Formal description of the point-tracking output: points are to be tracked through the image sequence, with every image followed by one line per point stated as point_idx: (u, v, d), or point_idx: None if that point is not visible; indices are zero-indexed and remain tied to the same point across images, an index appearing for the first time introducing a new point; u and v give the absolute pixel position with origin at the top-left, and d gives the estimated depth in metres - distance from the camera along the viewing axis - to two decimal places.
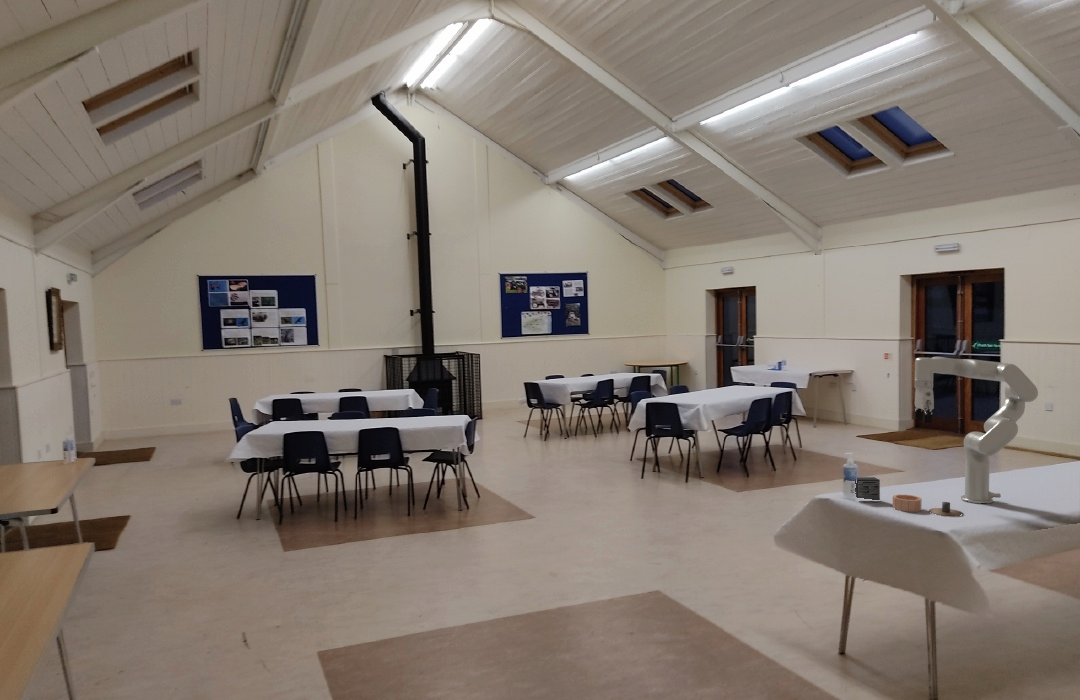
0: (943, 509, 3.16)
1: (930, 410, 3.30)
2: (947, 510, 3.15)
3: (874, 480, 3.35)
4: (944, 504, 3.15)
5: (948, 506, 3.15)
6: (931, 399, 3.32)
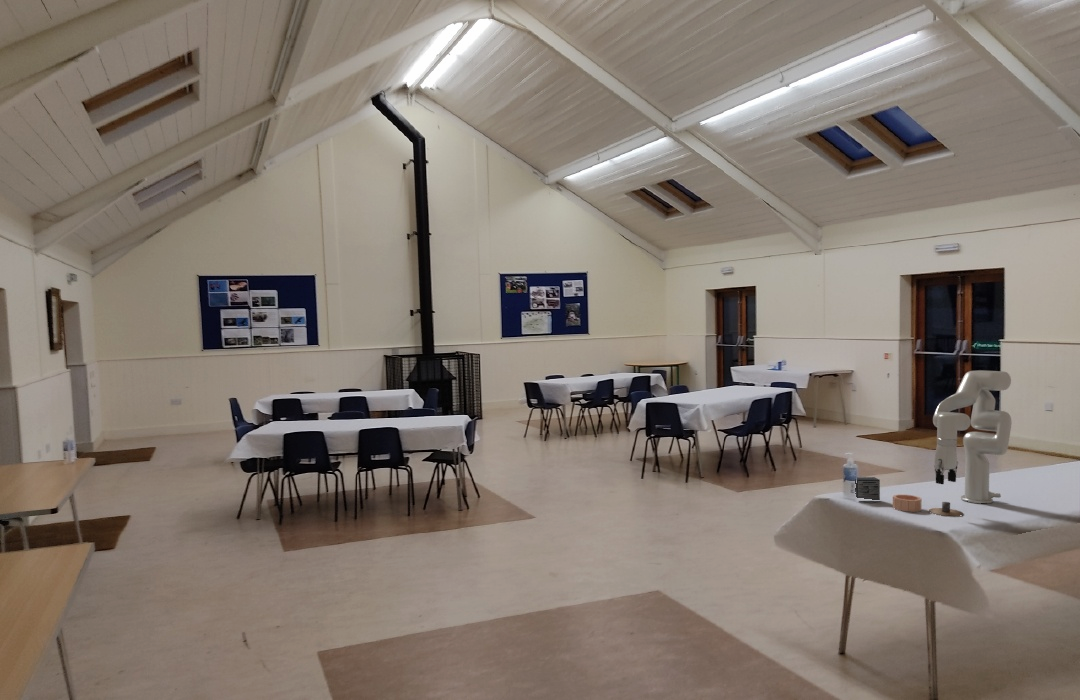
0: (943, 509, 3.16)
1: None
2: (947, 510, 3.15)
3: (874, 480, 3.35)
4: (944, 504, 3.15)
5: (948, 506, 3.15)
6: None
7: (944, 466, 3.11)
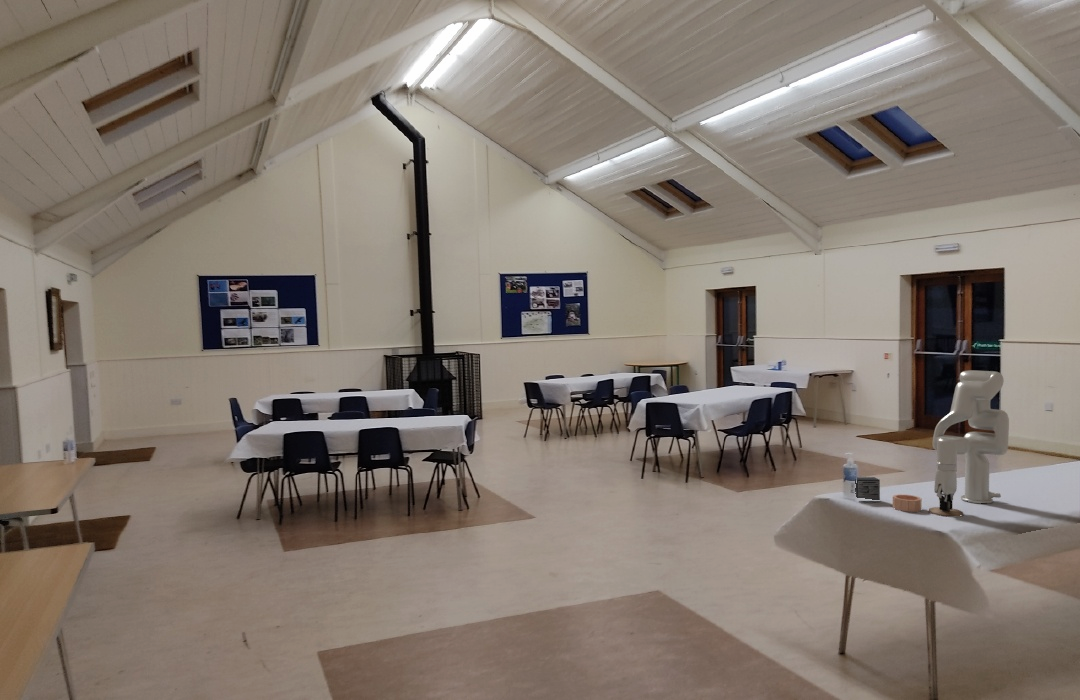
0: None
1: None
2: None
3: (874, 480, 3.35)
4: None
5: (948, 505, 3.15)
6: None
7: (944, 491, 3.12)
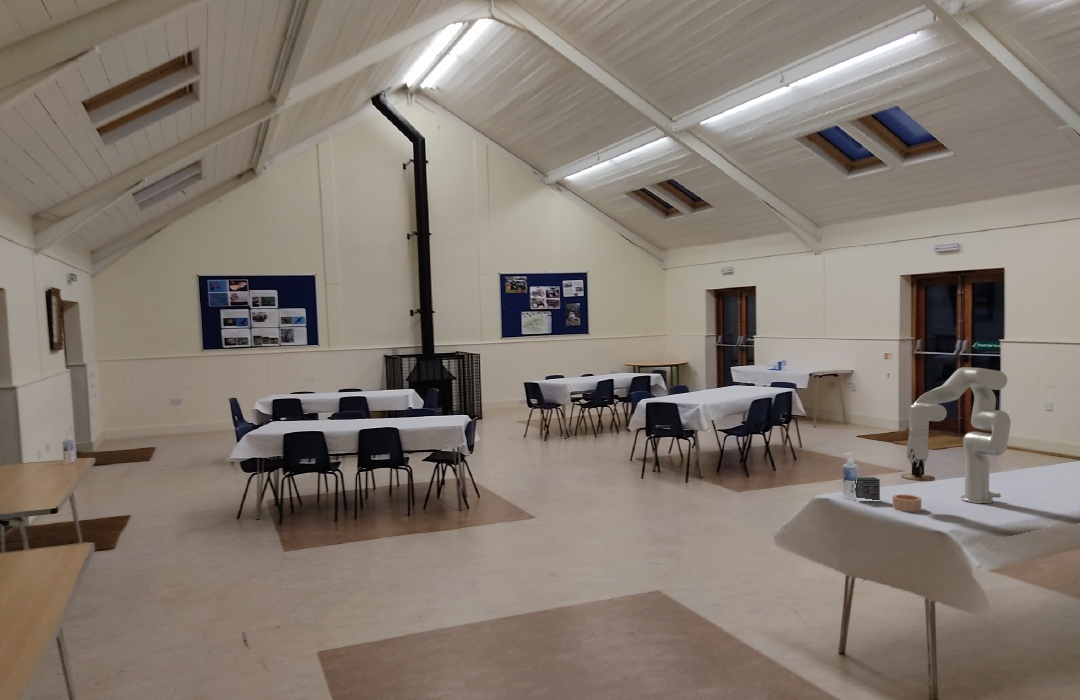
0: None
1: None
2: None
3: (874, 480, 3.35)
4: None
5: (920, 470, 3.19)
6: None
7: (916, 456, 3.16)
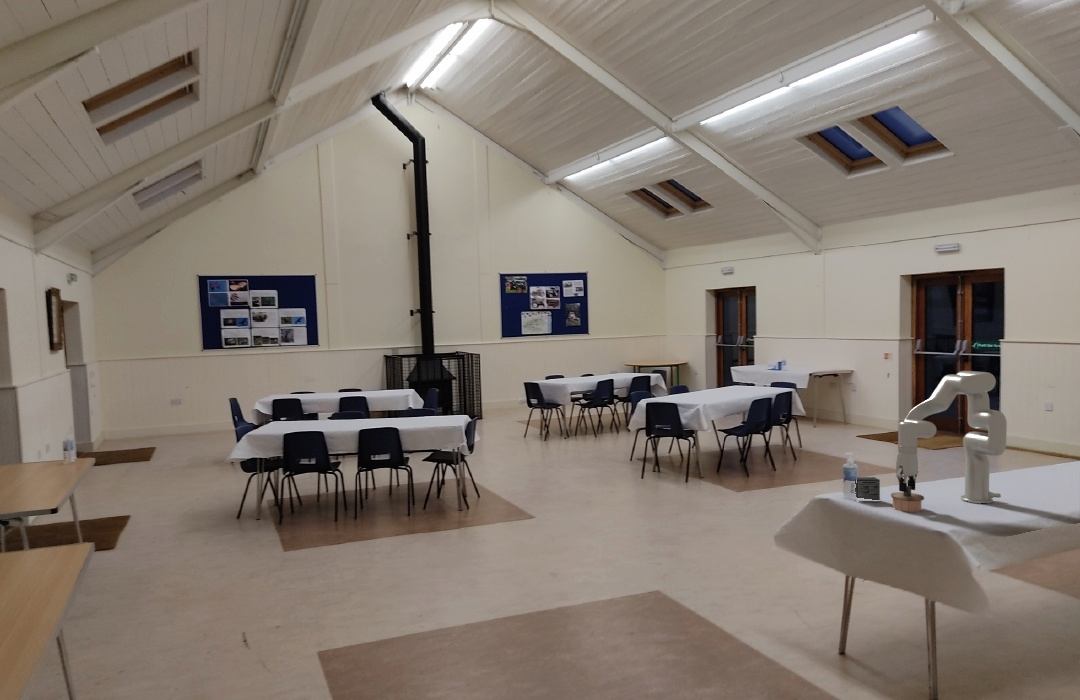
0: (904, 493, 3.23)
1: None
2: (908, 494, 3.22)
3: (874, 480, 3.35)
4: None
5: (909, 490, 3.22)
6: None
7: (905, 473, 3.19)
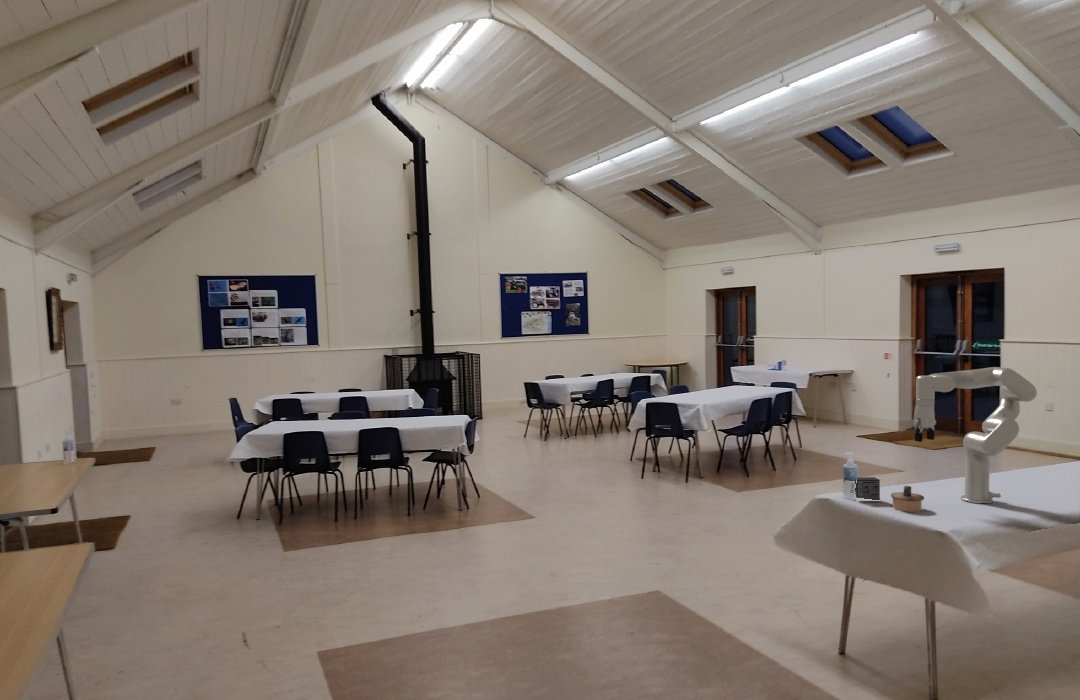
0: (904, 493, 3.23)
1: None
2: (908, 494, 3.22)
3: (874, 480, 3.35)
4: (905, 488, 3.22)
5: (909, 490, 3.22)
6: None
7: (922, 425, 3.29)
